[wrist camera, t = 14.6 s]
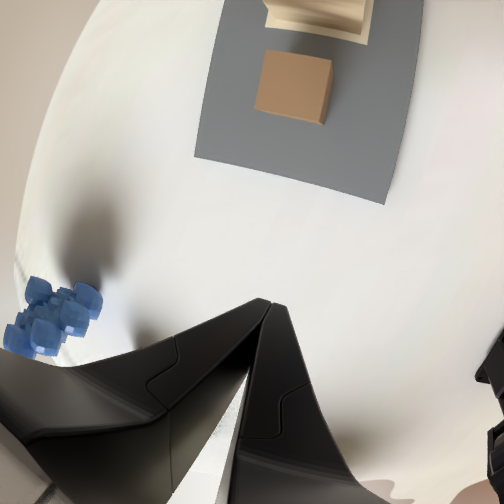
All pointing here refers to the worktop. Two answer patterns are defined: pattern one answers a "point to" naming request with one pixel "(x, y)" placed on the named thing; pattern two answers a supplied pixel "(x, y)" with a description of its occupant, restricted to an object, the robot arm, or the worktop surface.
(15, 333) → the grapes
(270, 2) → the maple block
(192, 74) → the worktop surface
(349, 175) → the board
